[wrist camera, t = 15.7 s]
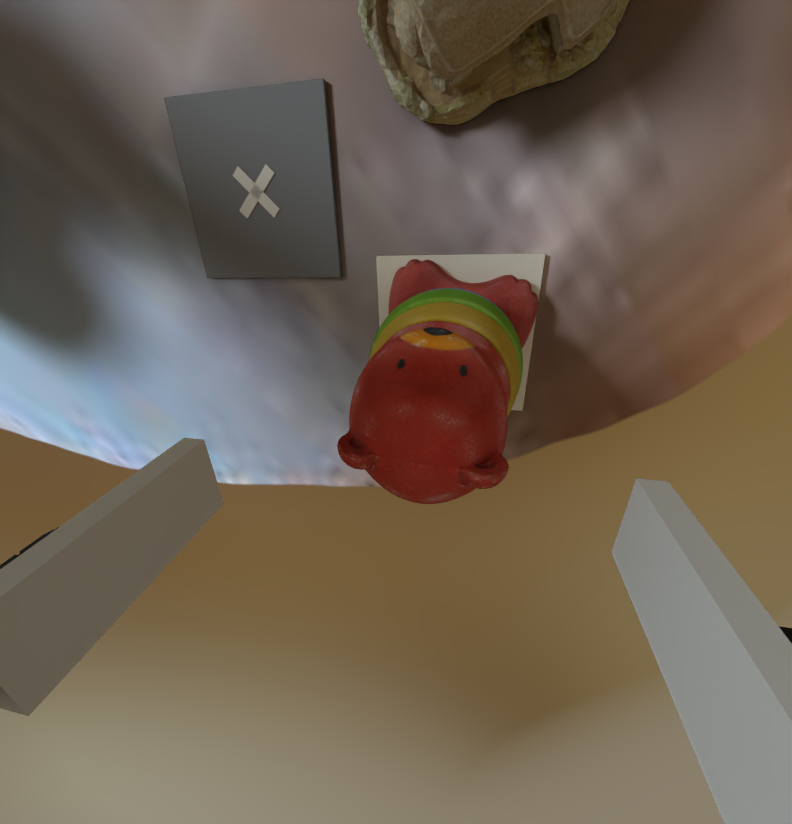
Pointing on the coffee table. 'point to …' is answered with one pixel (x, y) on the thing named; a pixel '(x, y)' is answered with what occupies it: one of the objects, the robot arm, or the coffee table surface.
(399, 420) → the stacking bear
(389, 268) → the pad
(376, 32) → the beige lumpy chunk
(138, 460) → the coffee table surface
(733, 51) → the coffee table surface
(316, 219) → the pad
